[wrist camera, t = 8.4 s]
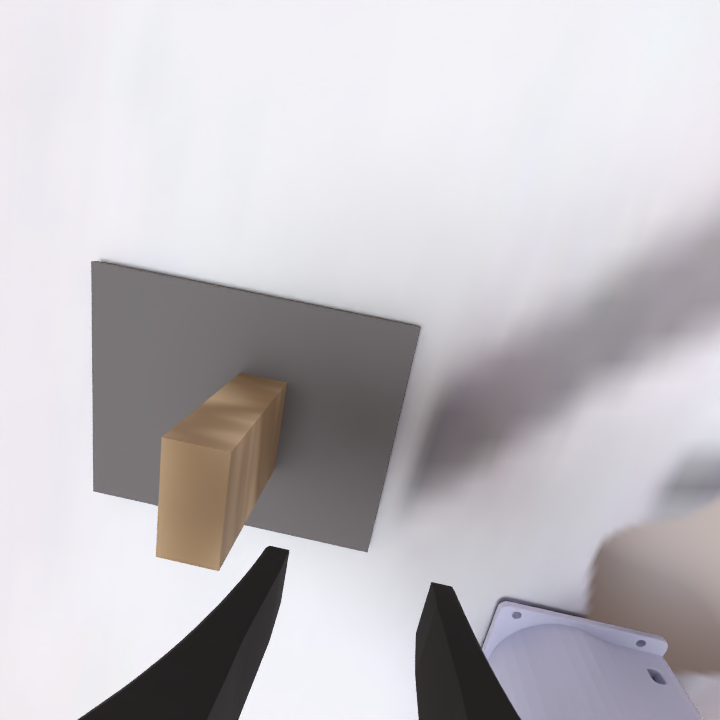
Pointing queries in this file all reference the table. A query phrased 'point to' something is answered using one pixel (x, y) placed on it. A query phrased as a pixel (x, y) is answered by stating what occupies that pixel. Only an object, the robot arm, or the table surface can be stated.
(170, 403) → the mat
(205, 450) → the block
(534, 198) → the table surface
